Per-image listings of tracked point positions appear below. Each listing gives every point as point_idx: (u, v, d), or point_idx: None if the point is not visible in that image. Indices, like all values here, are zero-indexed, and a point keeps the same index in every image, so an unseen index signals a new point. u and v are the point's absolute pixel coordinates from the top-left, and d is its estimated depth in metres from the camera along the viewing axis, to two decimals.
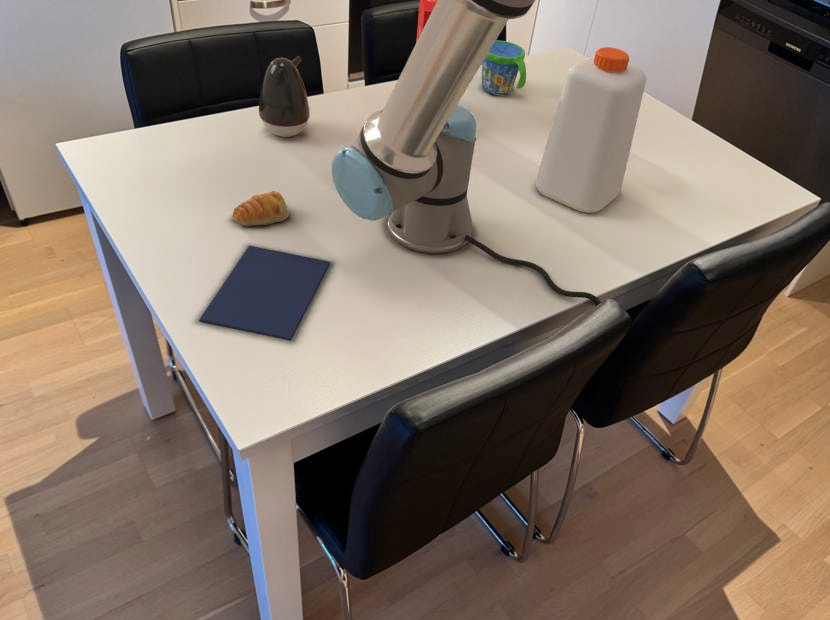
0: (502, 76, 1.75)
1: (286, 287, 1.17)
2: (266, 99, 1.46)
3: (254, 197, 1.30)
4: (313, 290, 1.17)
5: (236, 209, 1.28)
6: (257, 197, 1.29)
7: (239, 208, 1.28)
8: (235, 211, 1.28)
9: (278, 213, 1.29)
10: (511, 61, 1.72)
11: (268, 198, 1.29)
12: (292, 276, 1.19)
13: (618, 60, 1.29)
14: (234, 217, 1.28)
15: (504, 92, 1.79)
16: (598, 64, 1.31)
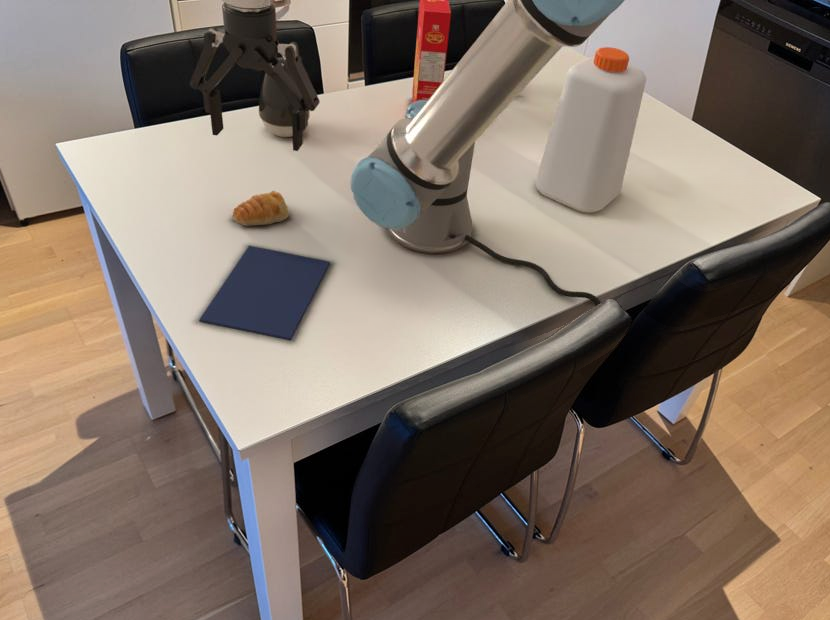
0: None
1: (286, 287, 1.17)
2: (266, 99, 1.46)
3: (254, 197, 1.30)
4: (313, 290, 1.17)
5: (236, 209, 1.28)
6: (257, 197, 1.29)
7: (239, 208, 1.28)
8: (235, 211, 1.28)
9: (278, 213, 1.29)
10: None
11: (268, 198, 1.29)
12: (292, 276, 1.19)
13: (618, 60, 1.29)
14: (234, 217, 1.28)
15: None
16: (598, 64, 1.31)
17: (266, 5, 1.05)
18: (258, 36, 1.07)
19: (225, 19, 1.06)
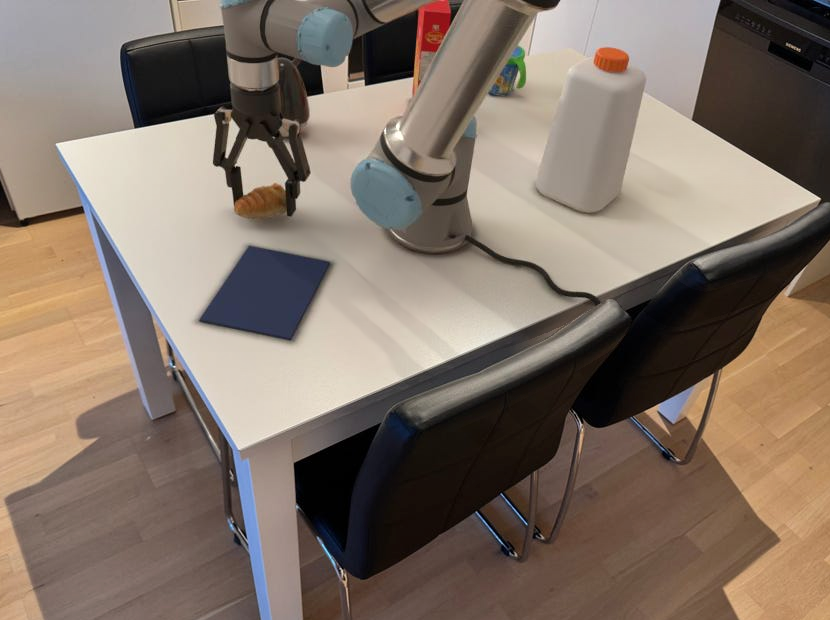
0: (502, 76, 1.75)
1: (286, 287, 1.17)
2: None
3: (255, 190, 1.29)
4: (313, 290, 1.17)
5: (238, 201, 1.27)
6: (258, 189, 1.28)
7: (240, 201, 1.27)
8: (236, 204, 1.27)
9: (280, 205, 1.28)
10: (511, 61, 1.72)
11: (270, 190, 1.28)
12: (292, 276, 1.19)
13: (618, 60, 1.29)
14: (235, 210, 1.26)
15: (504, 92, 1.79)
16: (598, 64, 1.31)
17: (271, 84, 1.13)
18: (264, 112, 1.15)
19: (233, 97, 1.14)
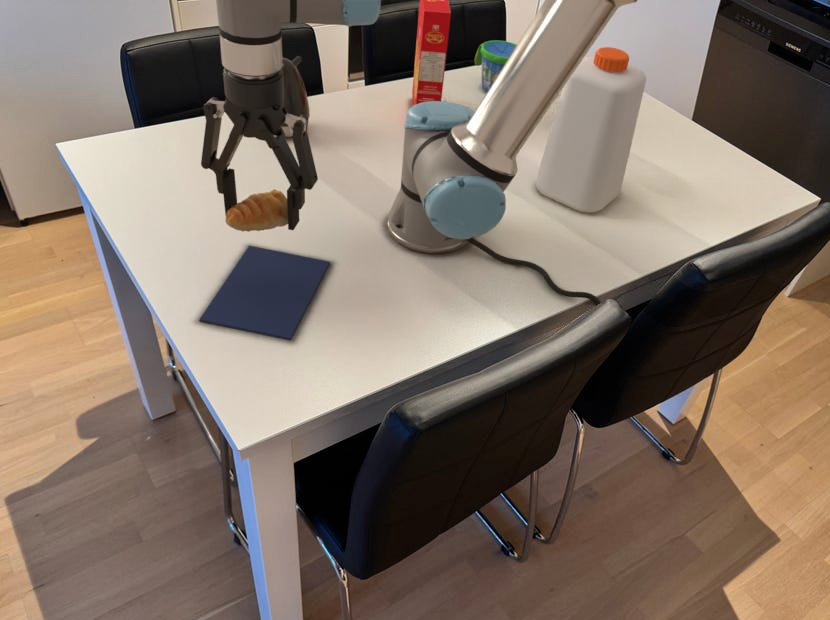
0: None
1: (286, 287, 1.17)
2: None
3: (251, 197, 1.08)
4: (313, 290, 1.17)
5: (230, 211, 1.07)
6: (255, 197, 1.08)
7: (233, 210, 1.06)
8: (228, 213, 1.06)
9: (280, 216, 1.07)
10: None
11: (269, 198, 1.08)
12: (292, 276, 1.19)
13: (618, 60, 1.29)
14: (227, 220, 1.06)
15: None
16: (598, 64, 1.31)
17: (273, 71, 0.92)
18: (263, 105, 0.94)
19: (226, 86, 0.94)
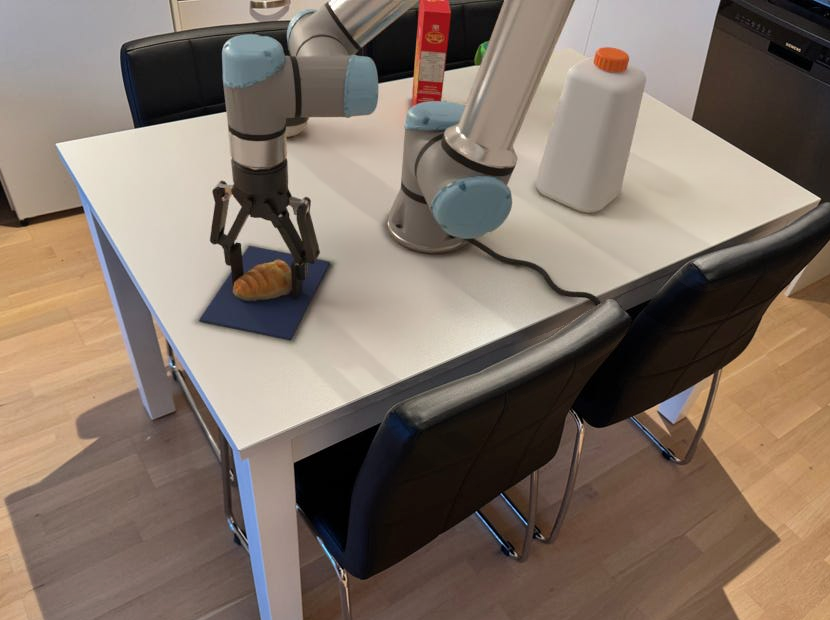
0: None
1: None
2: None
3: (257, 268, 1.15)
4: (313, 290, 1.17)
5: (237, 282, 1.13)
6: (260, 268, 1.14)
7: (240, 281, 1.13)
8: (236, 285, 1.13)
9: (284, 286, 1.14)
10: None
11: (273, 269, 1.14)
12: None
13: (618, 60, 1.29)
14: (235, 291, 1.13)
15: None
16: (598, 64, 1.31)
17: (278, 162, 0.99)
18: (269, 192, 1.01)
19: (234, 175, 1.00)
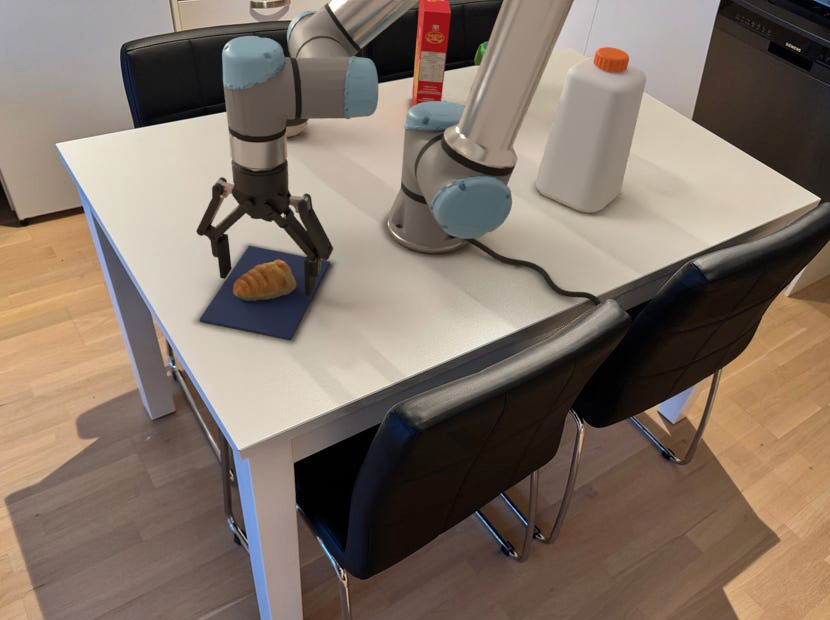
0: None
1: None
2: None
3: (257, 268, 1.15)
4: (313, 290, 1.17)
5: (237, 282, 1.13)
6: (260, 268, 1.14)
7: (240, 281, 1.13)
8: (236, 285, 1.13)
9: (284, 286, 1.14)
10: None
11: (273, 269, 1.14)
12: None
13: (618, 60, 1.29)
14: (235, 291, 1.13)
15: None
16: (598, 64, 1.31)
17: (278, 163, 0.99)
18: (269, 193, 1.01)
19: (235, 176, 1.00)
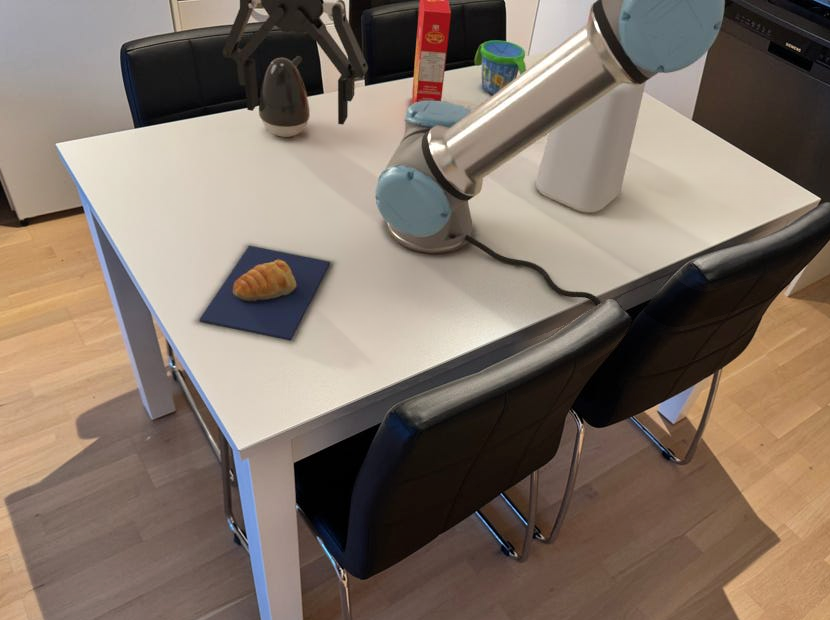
0: (502, 76, 1.75)
1: None
2: (266, 99, 1.46)
3: (257, 268, 1.15)
4: (313, 290, 1.17)
5: (237, 282, 1.13)
6: (260, 268, 1.14)
7: (240, 281, 1.13)
8: (236, 285, 1.13)
9: (284, 286, 1.14)
10: (511, 61, 1.72)
11: (273, 269, 1.14)
12: None
13: None
14: (235, 291, 1.13)
15: None
16: None
17: None
18: None
19: None
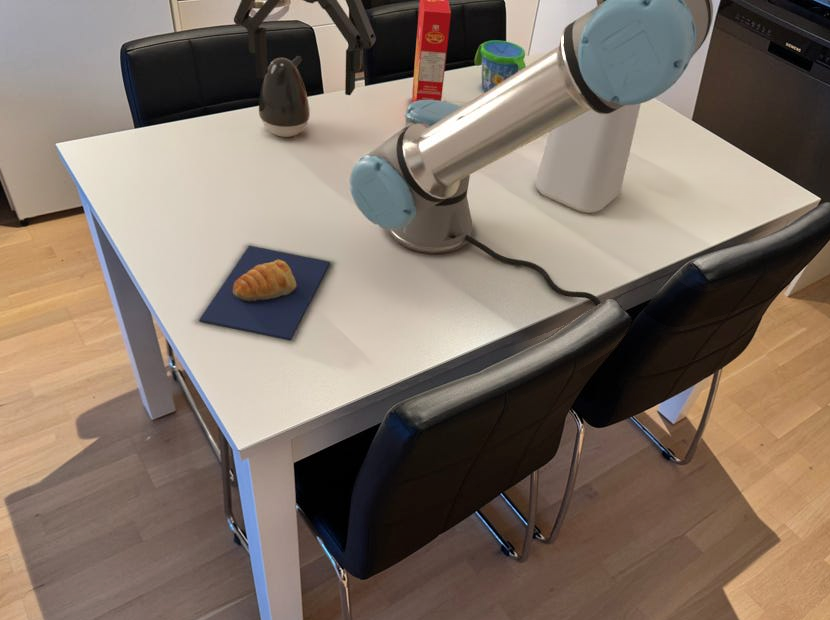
0: (502, 76, 1.75)
1: None
2: (266, 99, 1.46)
3: (257, 268, 1.15)
4: (313, 290, 1.17)
5: (237, 282, 1.13)
6: (260, 268, 1.14)
7: (240, 281, 1.13)
8: (236, 285, 1.13)
9: (284, 286, 1.14)
10: (511, 61, 1.72)
11: (273, 269, 1.14)
12: None
13: None
14: (235, 291, 1.13)
15: None
16: None
17: None
18: None
19: None
